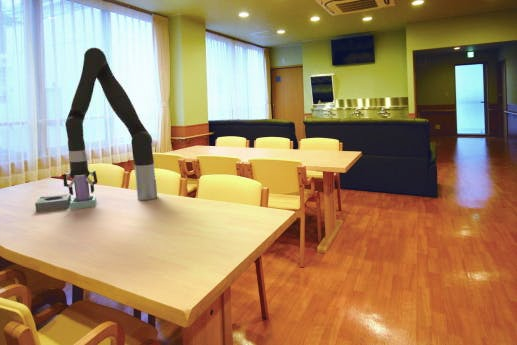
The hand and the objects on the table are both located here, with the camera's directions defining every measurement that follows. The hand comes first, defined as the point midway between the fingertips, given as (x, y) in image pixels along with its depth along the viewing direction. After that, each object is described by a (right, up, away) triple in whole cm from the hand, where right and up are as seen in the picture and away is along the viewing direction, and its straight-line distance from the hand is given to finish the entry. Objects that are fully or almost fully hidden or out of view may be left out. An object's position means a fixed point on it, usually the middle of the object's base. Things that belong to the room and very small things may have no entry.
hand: (82, 193), depth 173 cm
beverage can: (0, -6, +1) cm, 6 cm away
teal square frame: (0, -5, +1) cm, 6 cm away
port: (-13, -6, 0) cm, 15 cm away
